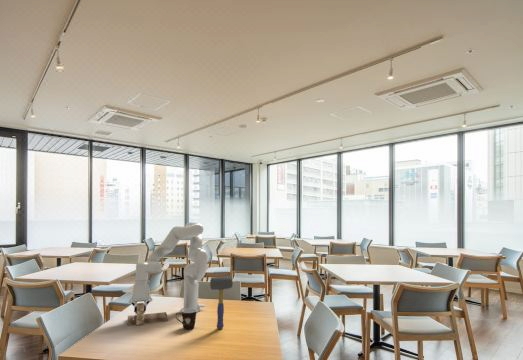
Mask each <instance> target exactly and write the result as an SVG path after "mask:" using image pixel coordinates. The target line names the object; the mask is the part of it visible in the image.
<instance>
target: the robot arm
mask: <svg viewBox="0 0 523 360" xmlns="http://www.w3.org/2000/svg"><path fill="white" fill-rule="evenodd" d="M203 232H204V226H203V225H202V224H201V223H199V222H187V223H186V224H185V225H184V226H173V227H172V228H171V229H170V231H169V232H168V234H167V235H166V237H165V238H164V239H163V241H162V242H161V244H160V245H159V246H157V247H156V248H155V249H154V250H153V251H152V253H150V254H149V256H148V258H146V261H139V262H136V265H135V280H134V281H135V282H134V284H133V286H132V291H131V292H132V293H131V297H130V298H129V300H128V303H129V304H131V305H132V306H133V307H134V308H133V309H134V311H133V312H134V313H135V314H134V315H137V314H136V313H137V303H144V314H146V312H147V306H148V305H149V304H150V303H151V302H152V301H153V298H152V296H151V294H150V283H151V279H149V275H150V274H154V275H155V274H159V273H160V272H161V271H162V269H163V264H162V263H161V262H160V260H161V259H162V258H163V257H164V256H166V255H168V254H170V253H172V252H173V251H174V249H175V247H176V246H177V245H178V243H179V242H180V240H182V241H184V240H189V248H188V253H187V258H188V260H189V261H191V263H187V264H185V266H184V268H183V279H184V282H183V283H184V287H183V288H184V289H183V292H184V293H183V307H182V308H181V309H180V313H182V310H184V309H190V308H191V309H196V310H197V313H198V312H200V310H201V308H205V306H206V305H205V304H204V303H199V281H201V280H202V279H203V278H204V277H205V275H206V271H207V265H208V252H207V251H206V250H204V249H203V235H202V234H203ZM192 262H193V263H192Z"/></svg>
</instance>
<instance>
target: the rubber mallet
mask: <svg viewBox="0 0 523 360" xmlns="http://www.w3.org/2000/svg"><path fill="white" fill-rule="evenodd" d="M233 282H234V281H233V278H232V276H230V275H229V276H228V275H225V276H224V275H223V276H221V275H220V276H213V277H210V282H209V284H210V285H209V286H210V290H213V291H215V290H218V303H217V311H216V312H217V314H216V315H217V321H216V328H217V330H222V329H223V328H224V325H225V324H224V313H225V309H224V308H225V305H224V290H228V289H229V290H230V289H232V287H233Z"/></svg>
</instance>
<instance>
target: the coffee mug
mask: <svg viewBox="0 0 523 360" xmlns="http://www.w3.org/2000/svg"><path fill="white" fill-rule="evenodd" d="M197 313H198V312H197V310H196V309H191V308H190V309H184V310H182V312H176V314H175V319H176V320H177V321H178V322H180V323H181V324H182V329H183V330H184V331H193V330H194V329H195V325H196V319H197ZM178 314H180V315H181V317H182V321H181V320H180V319H179V318H178V317H177V315H178Z"/></svg>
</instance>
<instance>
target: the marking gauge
mask: <svg viewBox="0 0 523 360" xmlns="http://www.w3.org/2000/svg"><path fill="white" fill-rule="evenodd" d="M144 314H145V313H144V302H137V313H136V314H135V315H137V322H136V324H135V325H137V326H138V325H144V324H145V323H144Z"/></svg>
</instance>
